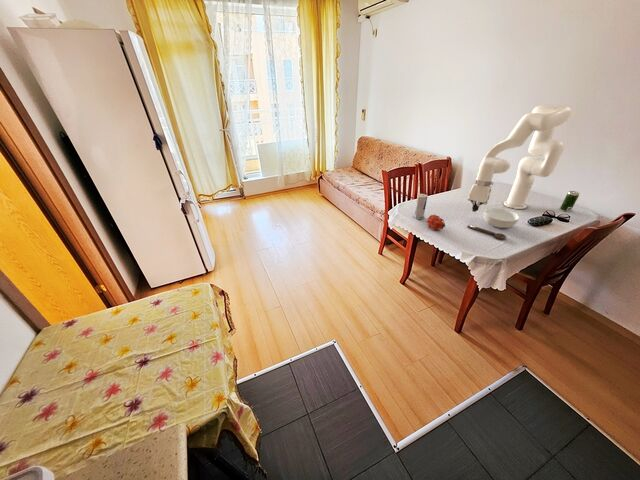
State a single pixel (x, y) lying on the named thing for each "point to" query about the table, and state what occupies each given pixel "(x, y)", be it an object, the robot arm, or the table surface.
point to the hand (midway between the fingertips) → (474, 210)
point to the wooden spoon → (489, 232)
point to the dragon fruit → (435, 222)
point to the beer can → (569, 201)
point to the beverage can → (420, 206)
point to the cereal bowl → (500, 217)
